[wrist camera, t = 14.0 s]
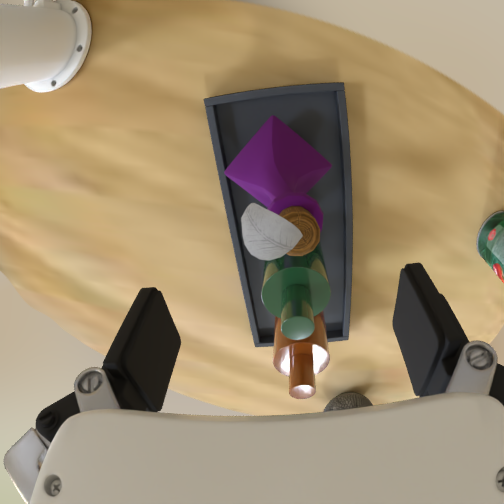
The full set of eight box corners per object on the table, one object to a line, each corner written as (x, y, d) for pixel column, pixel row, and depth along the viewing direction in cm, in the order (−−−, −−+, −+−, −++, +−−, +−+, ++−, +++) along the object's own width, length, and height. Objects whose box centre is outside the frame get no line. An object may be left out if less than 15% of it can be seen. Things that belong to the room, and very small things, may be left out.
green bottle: (263, 215, 35) (252, 301, 22) (316, 209, 34) (337, 294, 21) (270, 260, 38) (263, 356, 25) (319, 255, 37) (335, 350, 24)
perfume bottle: (328, 157, 31) (376, 240, 15) (281, 206, 34) (282, 321, 19) (273, 111, 29) (267, 143, 13) (228, 164, 32) (178, 251, 17)
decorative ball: (315, 408, 56) (316, 451, 47) (328, 381, 51) (333, 429, 42) (360, 409, 55) (365, 450, 47) (378, 382, 50) (387, 427, 42)
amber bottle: (273, 280, 39) (267, 376, 26) (320, 275, 38) (334, 371, 25) (278, 314, 42) (274, 408, 29) (321, 311, 41) (331, 404, 28)
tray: (208, 97, 29) (203, 99, 27) (339, 82, 27) (343, 82, 25) (256, 337, 46) (255, 347, 44) (346, 329, 44) (348, 340, 42)
